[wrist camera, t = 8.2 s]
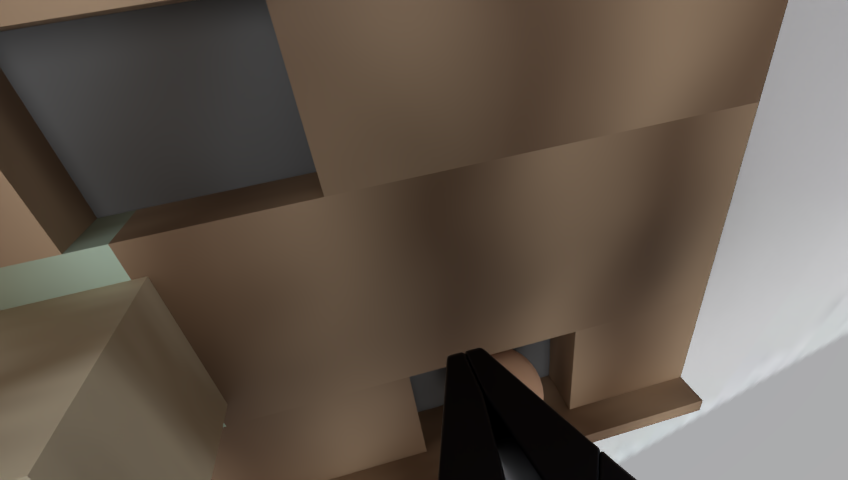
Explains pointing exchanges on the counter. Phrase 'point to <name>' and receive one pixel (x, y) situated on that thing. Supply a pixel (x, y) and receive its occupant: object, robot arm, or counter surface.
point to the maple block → (104, 390)
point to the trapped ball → (521, 369)
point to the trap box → (384, 199)
